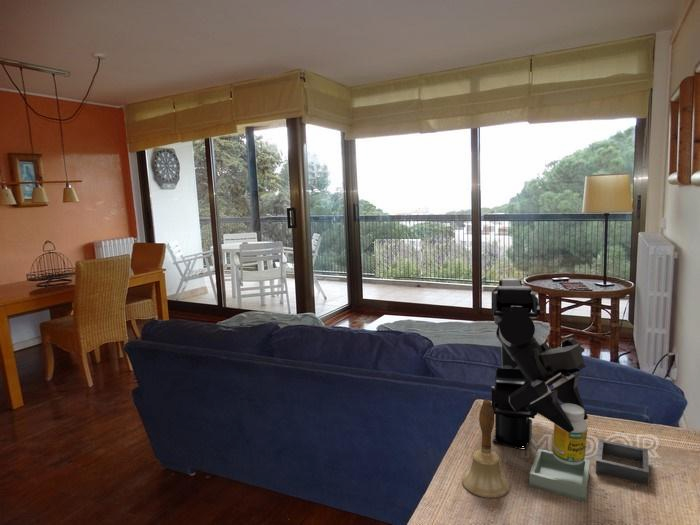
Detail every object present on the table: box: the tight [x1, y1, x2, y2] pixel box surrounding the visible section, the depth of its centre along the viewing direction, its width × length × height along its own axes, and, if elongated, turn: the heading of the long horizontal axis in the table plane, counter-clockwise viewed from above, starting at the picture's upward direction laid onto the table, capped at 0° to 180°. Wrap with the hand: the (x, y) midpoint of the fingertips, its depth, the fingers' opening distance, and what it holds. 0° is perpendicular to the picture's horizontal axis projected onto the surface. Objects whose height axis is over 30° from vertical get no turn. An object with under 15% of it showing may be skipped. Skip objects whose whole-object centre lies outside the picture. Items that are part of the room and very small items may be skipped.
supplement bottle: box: [552, 403, 589, 465], centre depth 83 cm, size 5×5×10 cm
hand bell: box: [461, 399, 511, 499], centre depth 83 cm, size 8×8×16 cm
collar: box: [595, 439, 650, 486], centre depth 87 cm, size 8×8×2 cm
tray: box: [528, 448, 591, 502], centre depth 84 cm, size 9×9×2 cm
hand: (578, 425), depth 82 cm, fingers closed on supplement bottle, 5 cm apart
